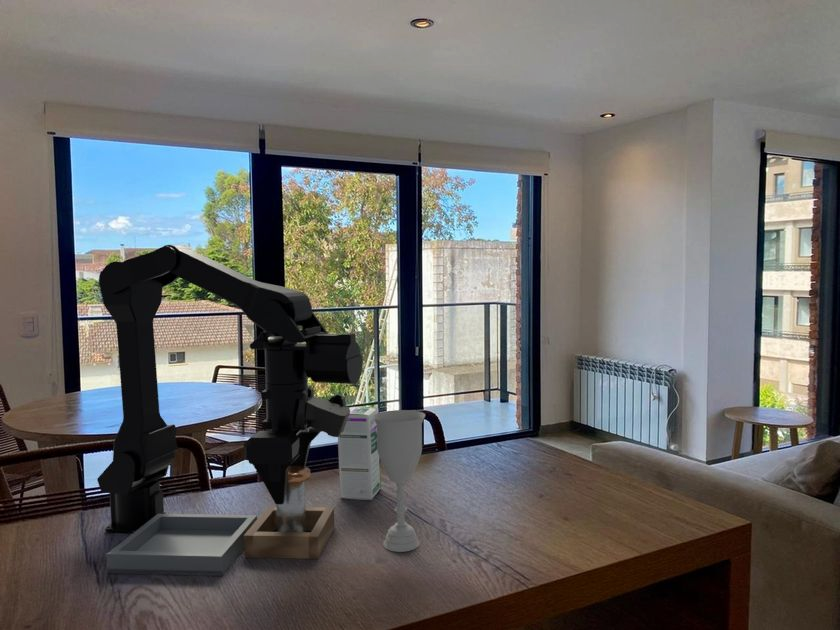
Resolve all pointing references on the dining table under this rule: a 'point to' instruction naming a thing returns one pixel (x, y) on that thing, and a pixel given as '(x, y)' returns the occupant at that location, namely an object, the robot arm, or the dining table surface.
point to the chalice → (400, 466)
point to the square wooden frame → (289, 536)
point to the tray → (182, 545)
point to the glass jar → (293, 502)
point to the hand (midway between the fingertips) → (289, 491)
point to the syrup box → (359, 455)
